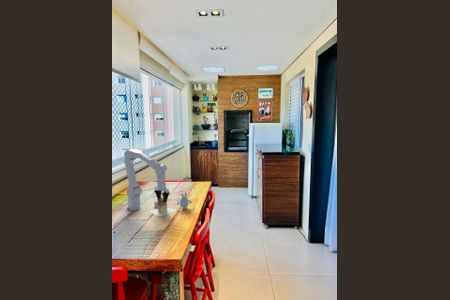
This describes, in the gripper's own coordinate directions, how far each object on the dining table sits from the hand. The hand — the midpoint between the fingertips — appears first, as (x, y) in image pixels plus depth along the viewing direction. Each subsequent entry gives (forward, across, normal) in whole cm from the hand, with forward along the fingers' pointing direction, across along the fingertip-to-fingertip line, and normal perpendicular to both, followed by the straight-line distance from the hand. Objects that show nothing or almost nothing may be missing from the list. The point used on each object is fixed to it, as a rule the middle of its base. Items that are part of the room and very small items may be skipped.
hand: (162, 200), depth 167 cm
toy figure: (+8, +8, +13) cm, 17 cm away
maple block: (+8, 0, 0) cm, 8 cm away
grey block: (+8, -11, +4) cm, 14 cm away
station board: (+8, 0, 0) cm, 8 cm away
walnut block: (+3, 0, 0) cm, 3 cm away
